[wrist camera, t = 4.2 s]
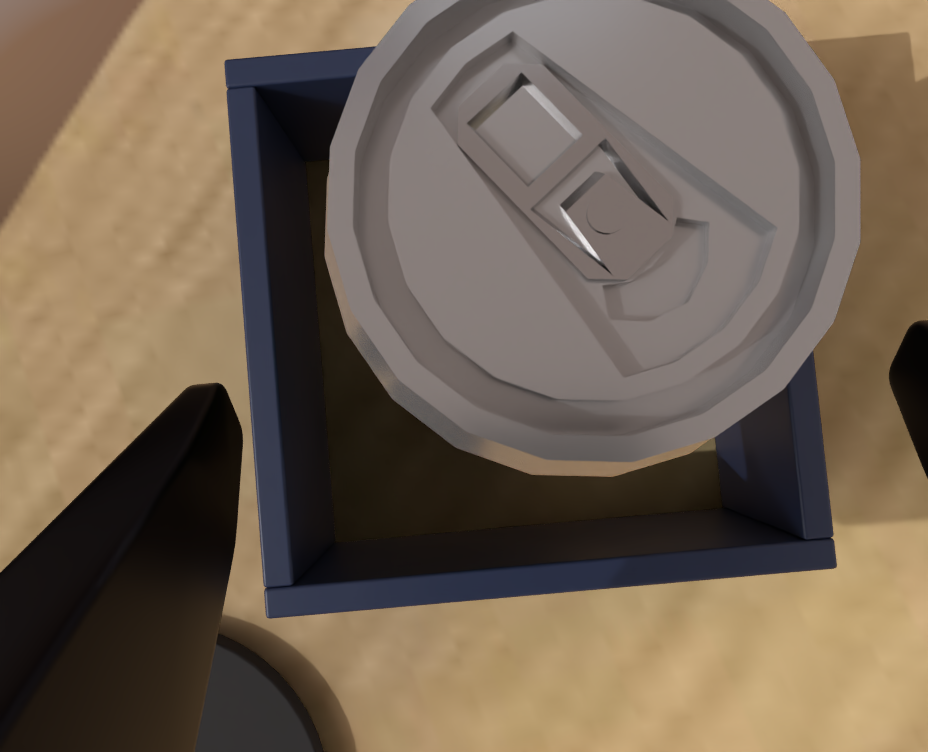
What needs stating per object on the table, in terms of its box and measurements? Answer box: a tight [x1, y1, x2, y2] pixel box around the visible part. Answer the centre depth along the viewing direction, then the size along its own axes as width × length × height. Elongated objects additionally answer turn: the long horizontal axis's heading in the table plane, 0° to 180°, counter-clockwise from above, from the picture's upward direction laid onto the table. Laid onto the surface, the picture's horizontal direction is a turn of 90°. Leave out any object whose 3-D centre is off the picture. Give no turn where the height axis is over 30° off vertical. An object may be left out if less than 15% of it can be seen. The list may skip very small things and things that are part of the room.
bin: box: [225, 47, 837, 618], centre depth 16 cm, size 11×11×4 cm
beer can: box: [325, 0, 860, 477], centre depth 12 cm, size 5×5×12 cm
